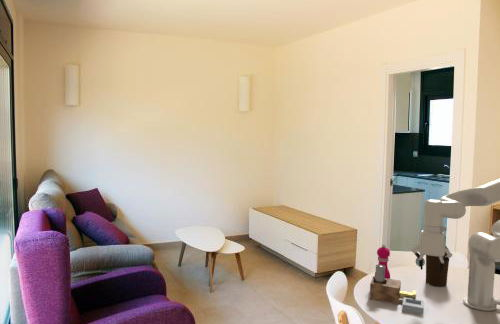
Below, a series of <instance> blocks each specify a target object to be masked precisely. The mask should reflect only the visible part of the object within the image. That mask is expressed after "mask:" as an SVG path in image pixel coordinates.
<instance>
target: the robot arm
mask: <svg viewBox="0 0 500 324" xmlns="http://www.w3.org/2000/svg"><path fill="white" fill-rule="evenodd" d="M499 202H500V178H499V179H496V180H493V181H491V182H488V183H485V184H482V185H480V186H476V187H472V188H467V189H464V190H463V189H461V190H457V191H455V192H451V193H448V194H446V195H444V196H441V197H440V198H439V199H430V198H429V199H426V200H425V201H424V206H423V209H424V210H423V229H422V230H420V231H421V232H420V234H419V242H418V244H417V245H416V246H415V247H413V248H412V249H411V252H412V253H413V254H414V255H415V257H416V258H417V259H418V262H419V263H418V267H419V268H420V270H421V271H422V270H423V267H424V265H423V264H424V259H423V258H424V256H426V255H429V256H437V257H439V259H440V262H439V272H441V270H443V263H444V262H445V261H447V260H448V259H449V260H450V258H451V257H453V253H451V252H450V250H449V251H448V250H447V249H446V248H445V246H446V235H445V232H447V229H448V228H447V227H446V226H444V218H446V219H453V220H456V219H457V220H458V219H462V218H463V217H464V216H465V214H466V212H467V210H466V209H467V208H466V207H487V206H490V205H492V204H495V203H499ZM444 231H445V232H444ZM490 231H491V233H492V235H491V234H490V233H487V232H483V231H478V232H475V233H473V234H471V235H470V237H469V239H468V252H469V267H468V270H469V271H468V285H467V296H466V297H463V299H462V302H463V304H464V305H466V306H467V307H469V308H471V309H474V310H478V311H483V312H493V311H496V310H497V307H498V306H500V298H496V297H494V286H495V275H496V274H495V273H496V263H500V219H499V220H497V221H496V222H494V223H493V224H492V226H491V230H490ZM445 252H446V253H447V254H448V255H447V256H445V257H444V258H443V256H444V255H445Z"/></svg>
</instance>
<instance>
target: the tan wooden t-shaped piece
mask: <svg viewBox="0 0 500 324" xmlns="http://www.w3.org/2000/svg"><path fill="white" fill-rule="evenodd" d="M404 297H406V298H411V299H417V290H412V292H410V291H405V290H400V292H399V298H400V299H404Z"/></svg>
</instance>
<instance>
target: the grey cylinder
mask: <svg viewBox="0 0 500 324" xmlns="http://www.w3.org/2000/svg"><path fill="white" fill-rule="evenodd" d="M375 272H376V276H375V275H374V276H375V283H381V284H385V266H384V265H379V264H376V265H375Z"/></svg>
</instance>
